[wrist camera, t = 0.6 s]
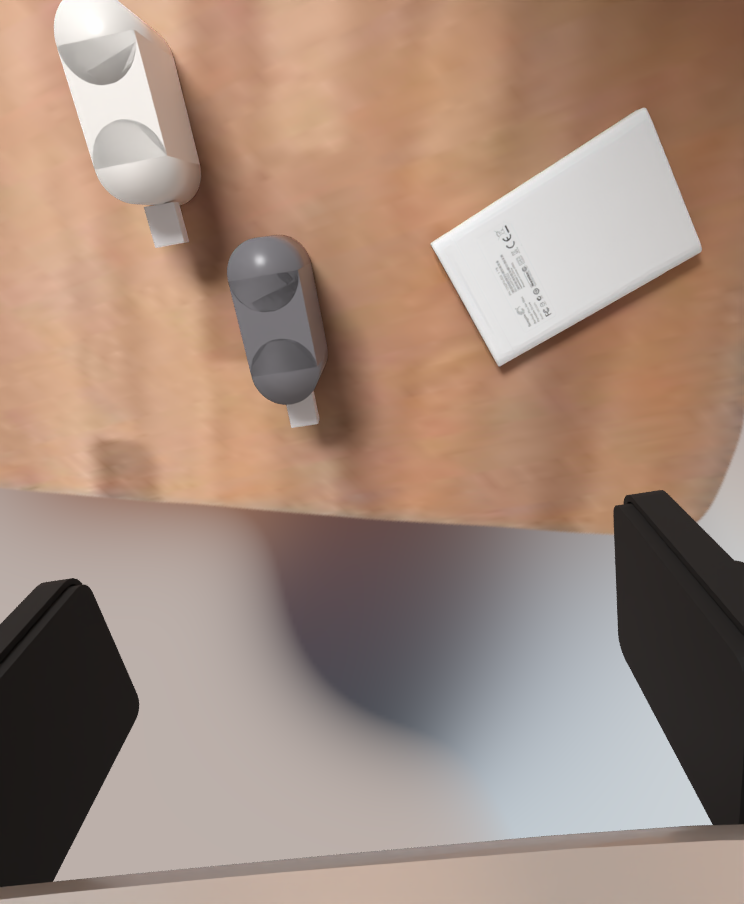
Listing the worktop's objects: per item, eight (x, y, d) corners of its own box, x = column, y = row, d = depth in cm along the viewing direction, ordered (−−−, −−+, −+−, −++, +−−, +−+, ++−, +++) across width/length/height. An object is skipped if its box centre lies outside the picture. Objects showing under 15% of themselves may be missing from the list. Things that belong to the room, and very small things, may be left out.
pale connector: (96, 31, 30) (41, -3, 25) (163, 17, 29) (120, -21, 25) (158, 248, 33) (120, 253, 29) (217, 237, 33) (189, 240, 29)
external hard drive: (690, 250, 33) (495, 362, 36) (634, 110, 31) (428, 243, 33) (704, 251, 32) (499, 369, 34) (646, 105, 29) (430, 243, 32)
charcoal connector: (243, 240, 33) (218, 244, 29) (304, 229, 33) (290, 231, 28) (283, 414, 37) (268, 442, 32) (338, 406, 37) (331, 433, 32)
